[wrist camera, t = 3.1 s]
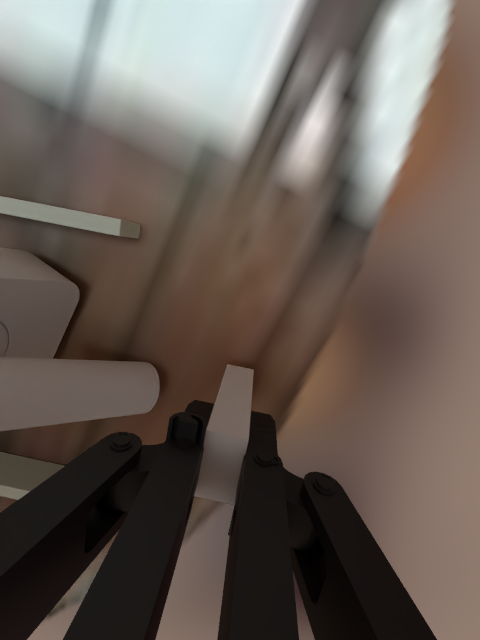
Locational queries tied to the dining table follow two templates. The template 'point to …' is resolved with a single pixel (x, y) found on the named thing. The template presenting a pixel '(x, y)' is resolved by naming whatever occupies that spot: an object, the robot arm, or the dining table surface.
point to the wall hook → (40, 347)
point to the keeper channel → (12, 470)
